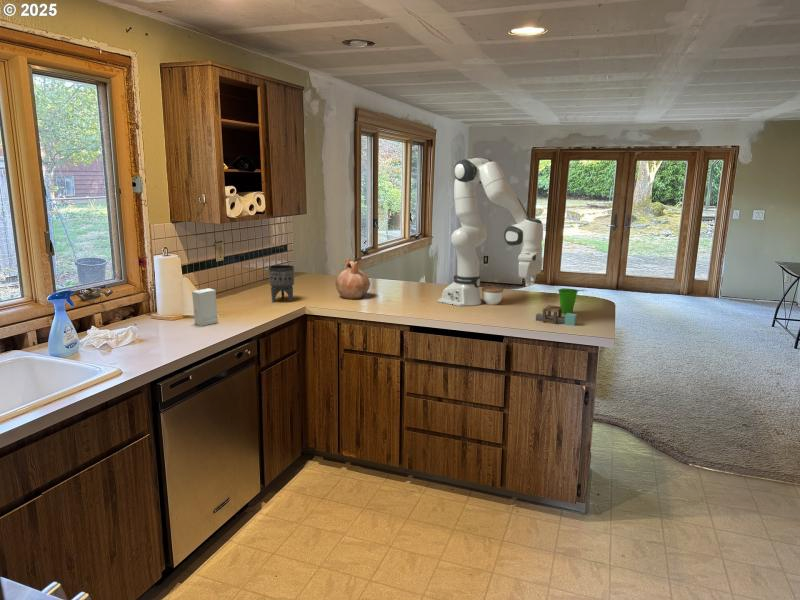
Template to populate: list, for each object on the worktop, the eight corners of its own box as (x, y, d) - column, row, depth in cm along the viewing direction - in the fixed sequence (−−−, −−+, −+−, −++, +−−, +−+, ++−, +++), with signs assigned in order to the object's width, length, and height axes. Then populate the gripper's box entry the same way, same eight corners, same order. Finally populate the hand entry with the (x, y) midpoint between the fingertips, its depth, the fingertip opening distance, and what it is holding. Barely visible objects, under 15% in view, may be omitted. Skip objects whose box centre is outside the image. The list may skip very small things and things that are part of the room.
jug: (374, 299, 296) (374, 261, 292) (341, 301, 290) (340, 263, 285) (363, 292, 313) (363, 256, 309) (332, 294, 306) (331, 258, 302)
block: (564, 324, 247) (565, 314, 247) (566, 322, 251) (567, 312, 250) (573, 325, 246) (574, 315, 245) (576, 323, 249) (576, 313, 248)
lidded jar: (497, 306, 281) (498, 288, 279) (477, 304, 286) (478, 285, 284) (505, 302, 290) (506, 284, 288) (486, 300, 295) (487, 282, 293)
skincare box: (211, 320, 250) (209, 287, 247) (218, 323, 246) (216, 289, 243) (193, 324, 244) (191, 290, 241) (200, 326, 240) (198, 292, 237)
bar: (535, 321, 254) (535, 314, 254) (537, 319, 257) (537, 313, 256) (564, 325, 248) (565, 318, 247) (566, 323, 250) (566, 316, 250)
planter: (277, 304, 282) (275, 269, 278) (265, 300, 292) (263, 266, 288) (300, 301, 290) (299, 267, 286) (287, 297, 300) (286, 264, 296)
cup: (561, 310, 274) (562, 287, 272) (579, 313, 269) (581, 290, 266) (553, 313, 268) (554, 290, 265) (571, 316, 262) (573, 293, 260)
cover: (542, 322, 251) (543, 308, 250) (548, 318, 258) (548, 305, 257) (555, 324, 248) (556, 310, 247) (561, 320, 255) (562, 306, 253)
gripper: (532, 252, 263) (531, 281, 266) (516, 257, 246) (515, 288, 249) (546, 253, 260) (544, 282, 262) (530, 258, 243) (528, 289, 246)
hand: (529, 285), depth 256 cm, fingers open, 4 cm apart
